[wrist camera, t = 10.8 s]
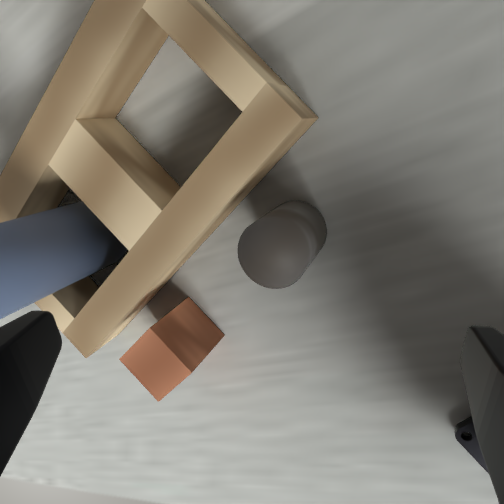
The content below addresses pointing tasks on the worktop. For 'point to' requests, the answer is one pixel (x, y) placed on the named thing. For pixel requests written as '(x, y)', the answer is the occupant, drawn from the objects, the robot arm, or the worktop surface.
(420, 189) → the worktop surface
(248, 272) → the socket board
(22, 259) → the blue-grey cylinder
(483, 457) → the robot arm
